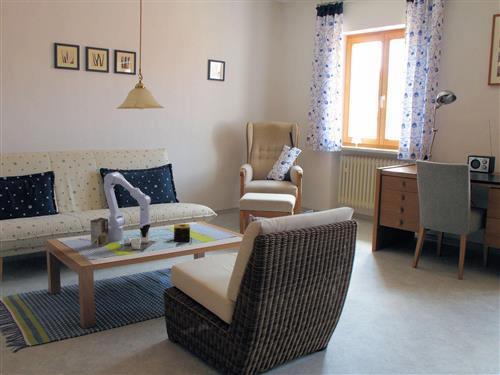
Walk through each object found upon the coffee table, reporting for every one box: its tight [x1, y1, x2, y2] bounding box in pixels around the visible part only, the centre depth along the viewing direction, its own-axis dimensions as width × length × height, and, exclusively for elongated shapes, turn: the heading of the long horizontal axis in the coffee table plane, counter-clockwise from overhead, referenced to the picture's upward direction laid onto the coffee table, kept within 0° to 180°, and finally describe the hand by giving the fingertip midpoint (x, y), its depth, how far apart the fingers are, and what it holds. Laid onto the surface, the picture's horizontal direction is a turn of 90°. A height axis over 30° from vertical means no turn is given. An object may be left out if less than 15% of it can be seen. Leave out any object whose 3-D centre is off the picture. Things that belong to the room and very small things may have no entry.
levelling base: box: [116, 238, 157, 253], centre depth 309 cm, size 16×24×4 cm
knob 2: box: [139, 231, 150, 243], centre depth 315 cm, size 6×5×6 cm
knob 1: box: [130, 237, 141, 249], centre depth 301 cm, size 6×5×6 cm
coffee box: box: [90, 217, 110, 248], centre depth 311 cm, size 9×6×16 cm
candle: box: [173, 223, 191, 243], centre depth 327 cm, size 10×10×10 cm
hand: (144, 236), depth 315 cm, fingers closed on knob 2, 2 cm apart
